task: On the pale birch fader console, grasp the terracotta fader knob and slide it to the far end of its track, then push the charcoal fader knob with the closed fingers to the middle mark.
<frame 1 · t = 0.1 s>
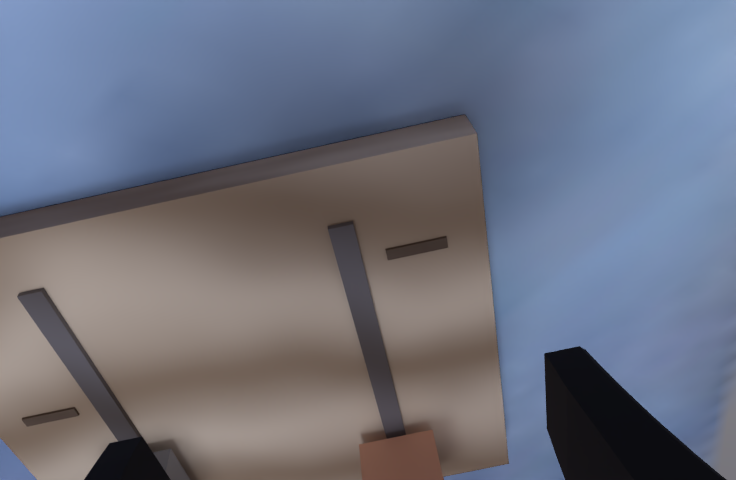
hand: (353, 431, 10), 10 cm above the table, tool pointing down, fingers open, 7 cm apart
console: (247, 356, 23), on the table
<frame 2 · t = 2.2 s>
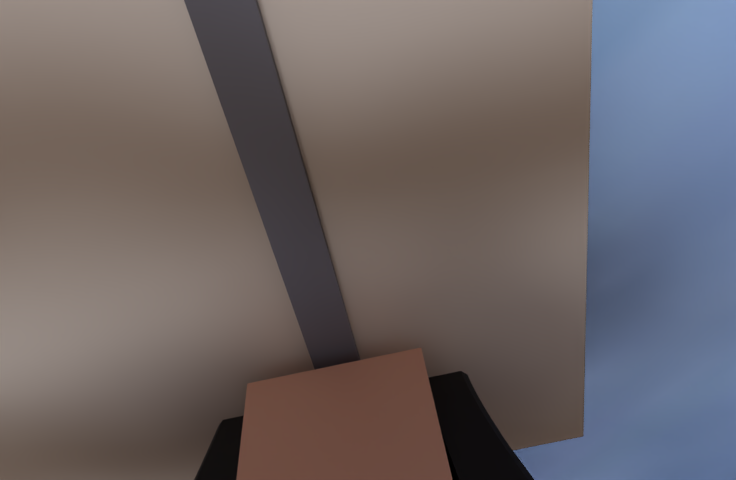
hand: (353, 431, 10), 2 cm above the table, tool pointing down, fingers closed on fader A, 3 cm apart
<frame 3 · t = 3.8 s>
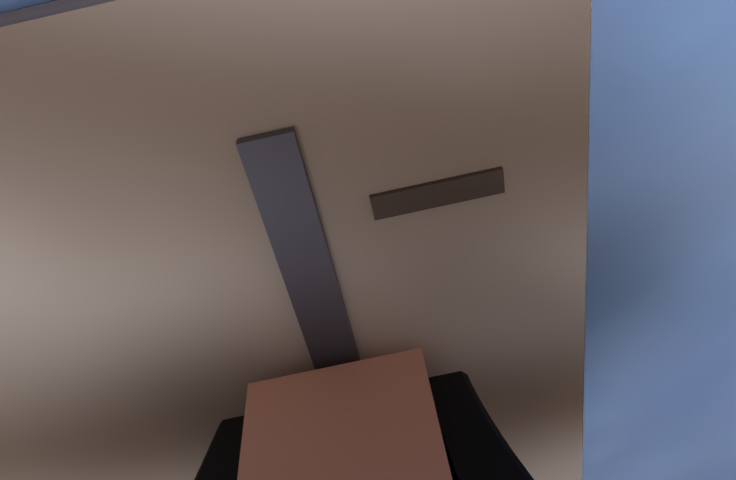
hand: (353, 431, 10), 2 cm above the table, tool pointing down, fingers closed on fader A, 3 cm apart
console: (127, 405, 13), on the table
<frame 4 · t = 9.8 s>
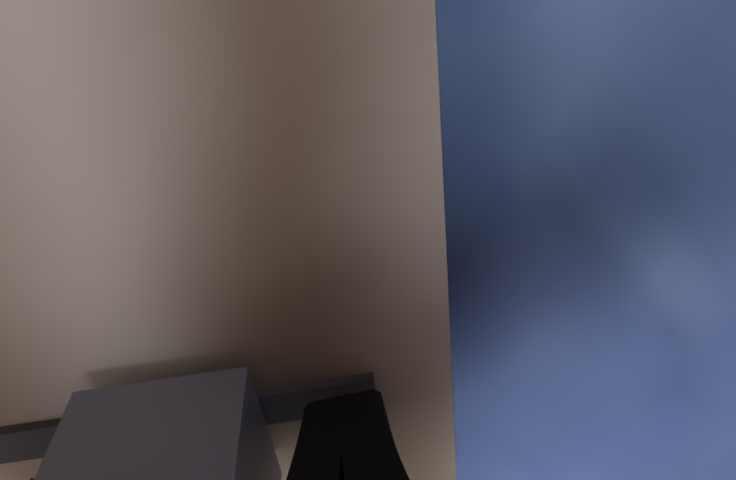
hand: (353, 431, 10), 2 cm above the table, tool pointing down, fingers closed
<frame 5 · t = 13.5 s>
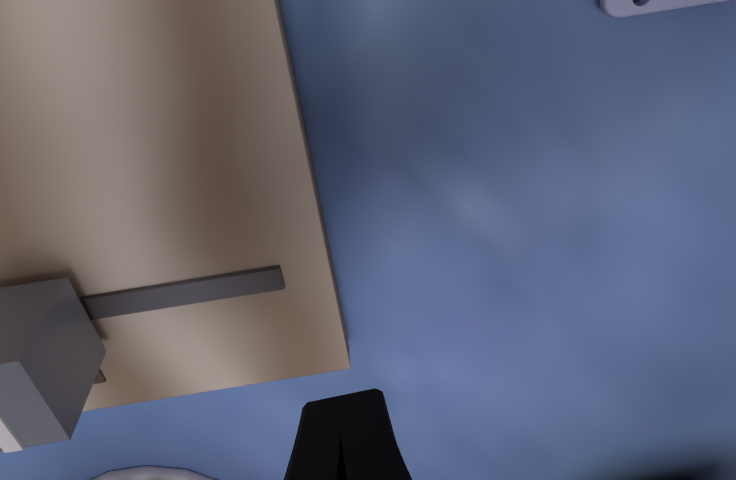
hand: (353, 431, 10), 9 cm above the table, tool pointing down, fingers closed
console: (23, 142, 17), on the table
fader B: (15, 365, 16), point 4 cm above the table, slide at 6.5 cm
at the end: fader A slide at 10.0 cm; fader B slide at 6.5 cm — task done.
